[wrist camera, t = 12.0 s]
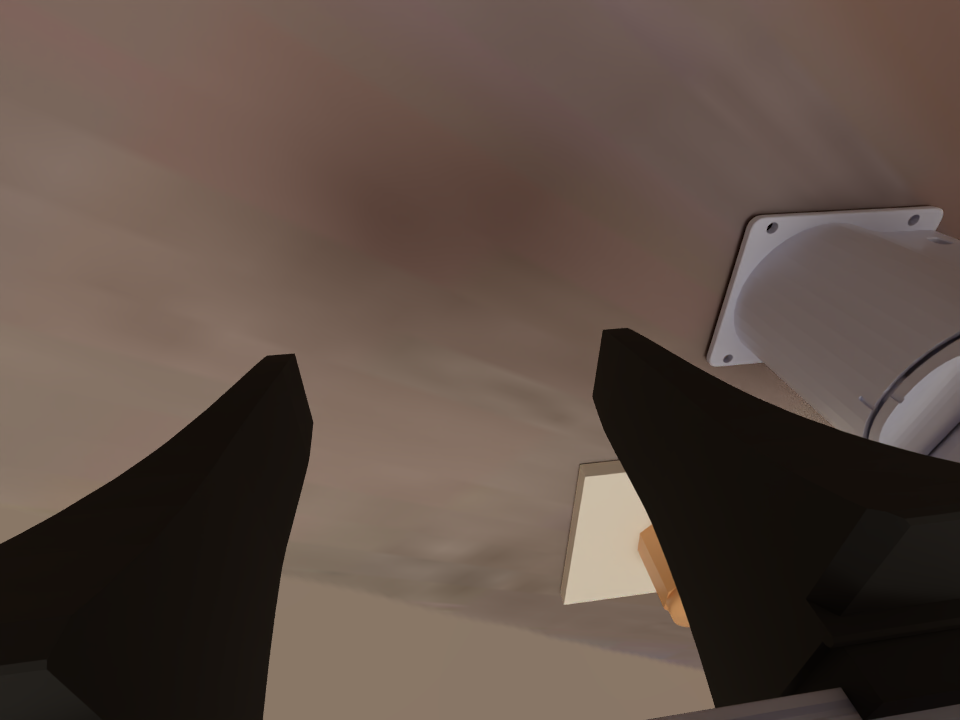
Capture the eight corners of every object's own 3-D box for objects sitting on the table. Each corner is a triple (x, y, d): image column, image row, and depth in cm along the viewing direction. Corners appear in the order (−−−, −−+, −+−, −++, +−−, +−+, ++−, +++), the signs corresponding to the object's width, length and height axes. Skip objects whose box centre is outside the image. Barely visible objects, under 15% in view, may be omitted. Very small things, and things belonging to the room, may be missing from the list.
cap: (677, 505, 31) (719, 576, 27) (716, 527, 33) (760, 596, 29) (625, 544, 33) (656, 616, 29) (665, 563, 35) (700, 633, 31)
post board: (792, 441, 31) (849, 501, 27) (730, 569, 39) (767, 630, 35) (580, 464, 29) (607, 531, 25) (560, 592, 37) (579, 658, 33)
